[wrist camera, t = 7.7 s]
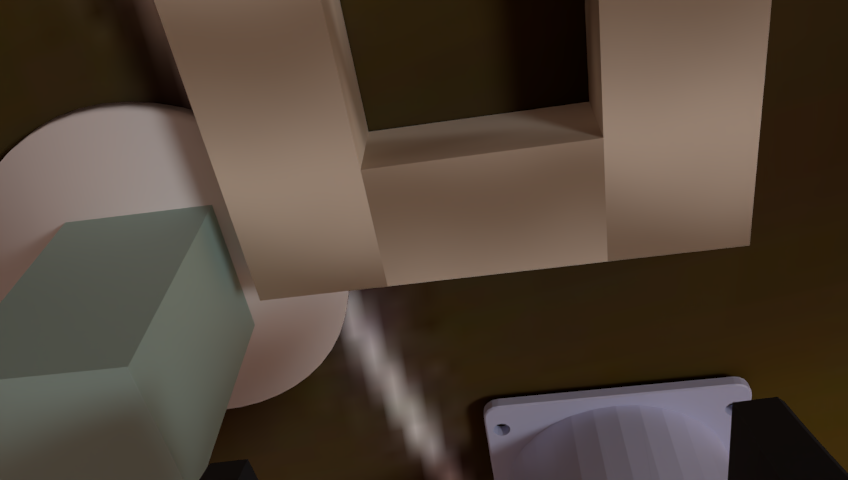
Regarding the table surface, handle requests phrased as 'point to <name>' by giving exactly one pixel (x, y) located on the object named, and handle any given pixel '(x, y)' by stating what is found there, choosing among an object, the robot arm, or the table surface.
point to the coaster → (149, 192)
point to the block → (121, 350)
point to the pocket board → (474, 148)
